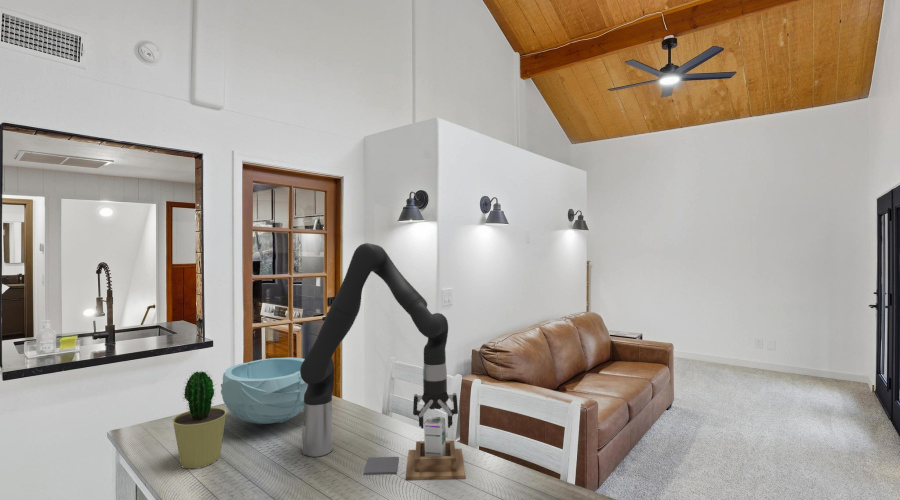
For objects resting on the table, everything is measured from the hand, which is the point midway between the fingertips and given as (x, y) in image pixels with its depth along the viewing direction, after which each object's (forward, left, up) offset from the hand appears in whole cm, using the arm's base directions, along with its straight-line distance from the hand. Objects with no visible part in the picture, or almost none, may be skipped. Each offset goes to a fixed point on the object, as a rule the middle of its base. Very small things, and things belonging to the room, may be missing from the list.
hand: (435, 427), depth 145 cm
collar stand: (0, 0, -12) cm, 12 cm away
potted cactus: (-77, +7, -12) cm, 78 cm away
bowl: (-65, +38, -12) cm, 76 cm away
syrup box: (0, 0, -12) cm, 12 cm away
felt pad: (-17, 0, -12) cm, 21 cm away
